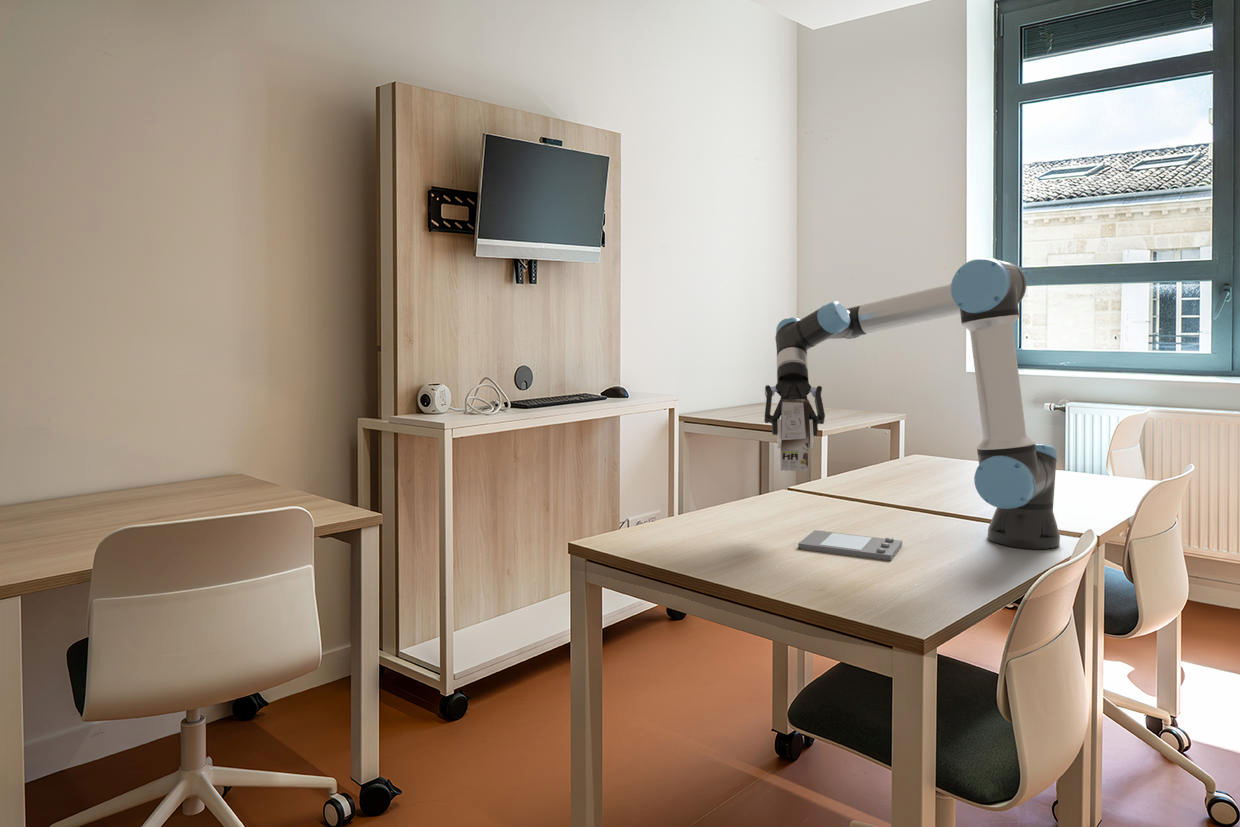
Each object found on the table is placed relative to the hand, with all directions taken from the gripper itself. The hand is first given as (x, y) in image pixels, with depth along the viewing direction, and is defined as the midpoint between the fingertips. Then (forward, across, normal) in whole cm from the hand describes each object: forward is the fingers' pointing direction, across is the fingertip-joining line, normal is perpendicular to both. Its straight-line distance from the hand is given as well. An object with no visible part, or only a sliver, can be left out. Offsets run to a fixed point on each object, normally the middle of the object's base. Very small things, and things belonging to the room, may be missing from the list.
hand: (795, 444), depth 197 cm
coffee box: (+2, 0, -7) cm, 7 cm away
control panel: (+20, -12, -11) cm, 26 cm away
